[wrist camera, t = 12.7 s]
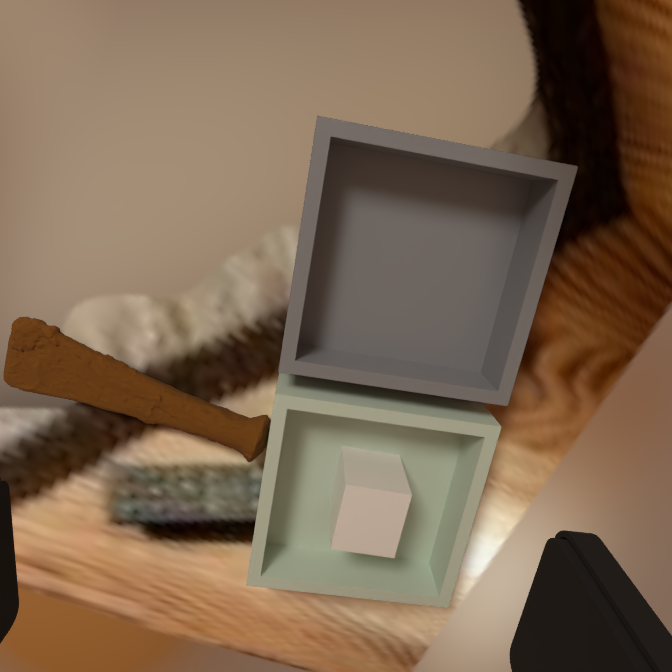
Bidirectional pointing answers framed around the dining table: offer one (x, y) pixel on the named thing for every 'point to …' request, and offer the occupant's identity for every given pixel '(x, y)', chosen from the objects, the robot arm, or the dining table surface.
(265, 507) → the sage crate
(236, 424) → the primitive tool
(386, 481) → the beige block
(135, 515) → the dining table surface
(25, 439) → the dining table surface
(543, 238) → the charcoal bin
